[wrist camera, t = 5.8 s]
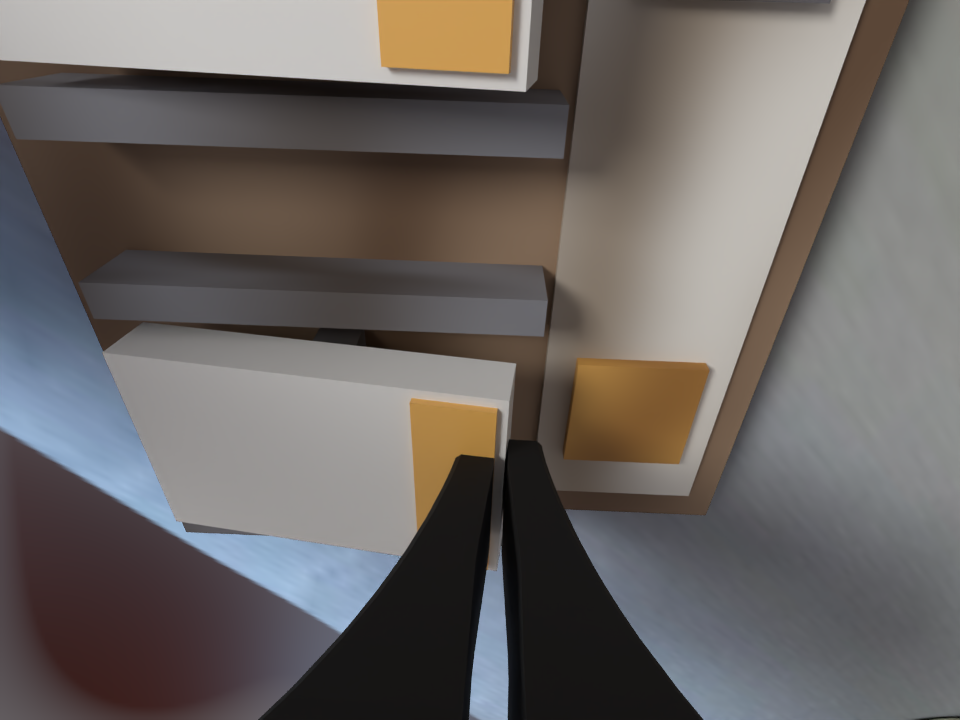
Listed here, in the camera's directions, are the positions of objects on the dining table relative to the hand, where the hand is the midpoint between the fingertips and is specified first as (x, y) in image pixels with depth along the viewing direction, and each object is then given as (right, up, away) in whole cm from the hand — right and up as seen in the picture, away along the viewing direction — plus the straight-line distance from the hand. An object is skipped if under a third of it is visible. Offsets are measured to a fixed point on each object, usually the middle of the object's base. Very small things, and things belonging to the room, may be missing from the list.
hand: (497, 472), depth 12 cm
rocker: (-4, +1, +1) cm, 4 cm away
